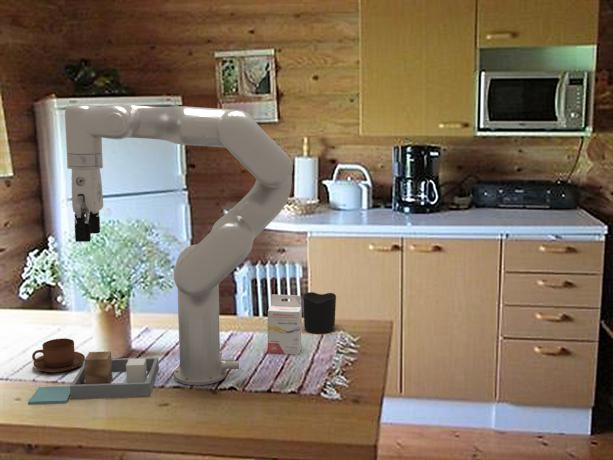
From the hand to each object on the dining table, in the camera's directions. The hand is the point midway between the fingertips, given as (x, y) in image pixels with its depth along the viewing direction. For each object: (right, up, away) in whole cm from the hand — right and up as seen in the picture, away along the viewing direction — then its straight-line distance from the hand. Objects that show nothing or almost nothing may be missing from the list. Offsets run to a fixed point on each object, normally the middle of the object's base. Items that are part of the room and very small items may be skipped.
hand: (88, 237), depth 156 cm
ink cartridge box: (+44, -30, +25) cm, 59 cm away
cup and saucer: (-12, -33, +14) cm, 37 cm away
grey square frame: (+5, -34, +4) cm, 35 cm away
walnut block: (+1, -34, +4) cm, 34 cm away
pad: (-7, -35, -3) cm, 36 cm away
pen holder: (+53, -27, +43) cm, 73 cm away
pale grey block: (+10, -34, +5) cm, 36 cm away
